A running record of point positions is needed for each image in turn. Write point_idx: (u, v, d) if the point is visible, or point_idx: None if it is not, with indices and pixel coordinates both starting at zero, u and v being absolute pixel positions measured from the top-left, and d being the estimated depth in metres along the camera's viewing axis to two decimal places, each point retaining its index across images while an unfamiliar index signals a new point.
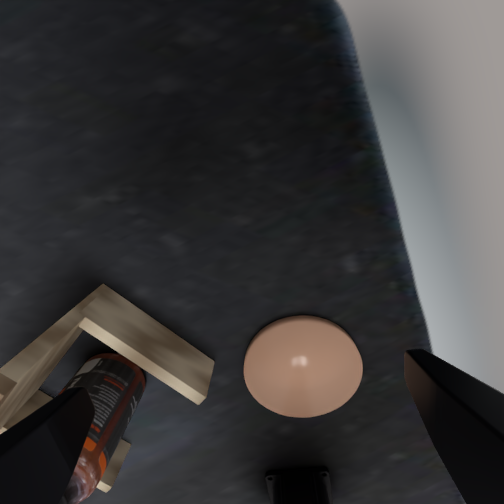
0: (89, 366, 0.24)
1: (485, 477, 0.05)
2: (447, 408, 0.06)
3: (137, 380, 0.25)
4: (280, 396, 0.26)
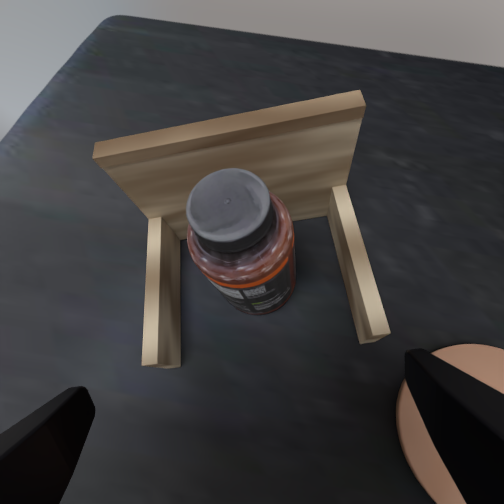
0: None
1: (485, 477, 0.05)
2: (447, 408, 0.06)
3: (292, 287, 0.21)
4: None
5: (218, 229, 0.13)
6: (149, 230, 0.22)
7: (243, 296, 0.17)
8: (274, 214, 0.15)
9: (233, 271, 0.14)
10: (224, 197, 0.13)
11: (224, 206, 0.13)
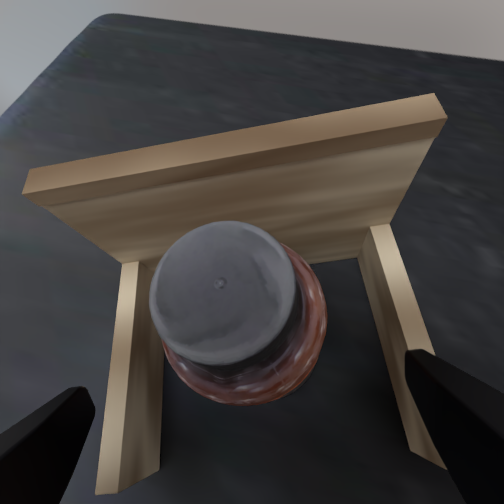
0: None
1: (485, 477, 0.05)
2: (447, 408, 0.06)
3: None
4: None
5: (202, 340, 0.07)
6: (122, 279, 0.16)
7: None
8: (298, 294, 0.09)
9: (230, 391, 0.09)
10: (214, 275, 0.08)
11: (213, 294, 0.07)
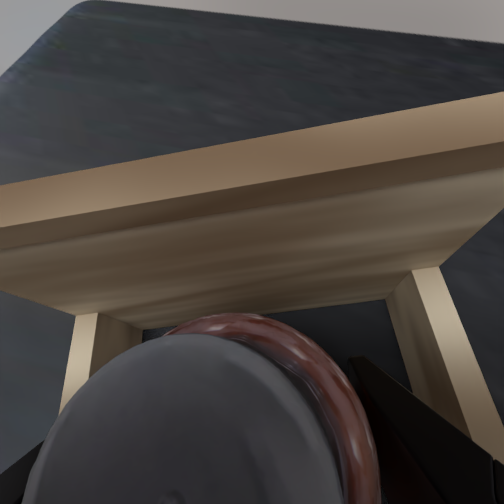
0: None
1: (399, 483, 0.05)
2: (372, 415, 0.06)
3: None
4: None
5: None
6: (74, 338, 0.12)
7: None
8: None
9: None
10: (158, 483, 0.03)
11: None
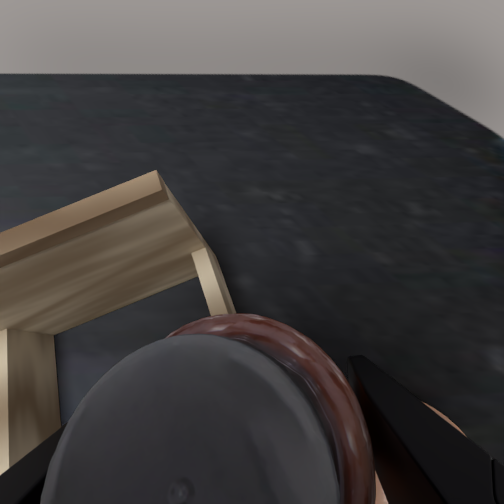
0: None
1: (398, 483, 0.05)
2: (371, 415, 0.06)
3: None
4: None
5: None
6: None
7: None
8: None
9: None
10: (169, 471, 0.04)
11: None
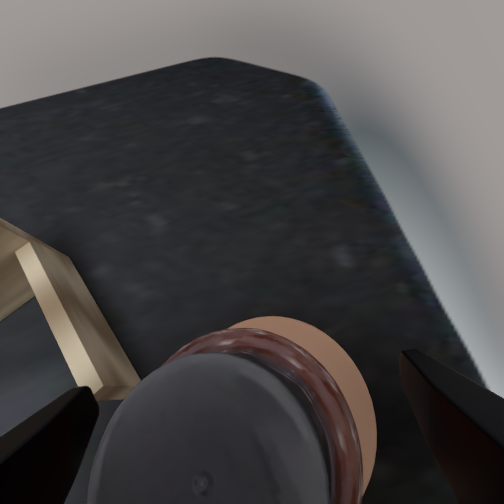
0: None
1: (477, 477, 0.05)
2: (440, 408, 0.06)
3: None
4: None
5: None
6: None
7: None
8: None
9: None
10: (192, 466, 0.05)
11: None
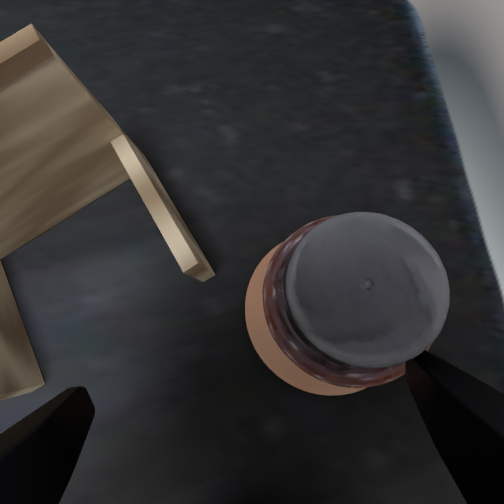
0: None
1: (486, 477, 0.05)
2: (448, 408, 0.06)
3: None
4: None
5: (347, 340, 0.07)
6: None
7: None
8: None
9: (339, 376, 0.09)
10: (360, 274, 0.07)
11: (359, 294, 0.07)
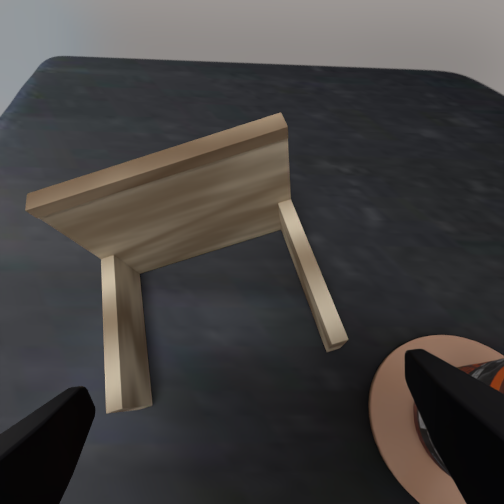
0: None
1: (485, 477, 0.05)
2: (447, 408, 0.06)
3: None
4: (412, 444, 0.17)
5: None
6: (102, 270, 0.22)
7: None
8: None
9: None
10: None
11: None
